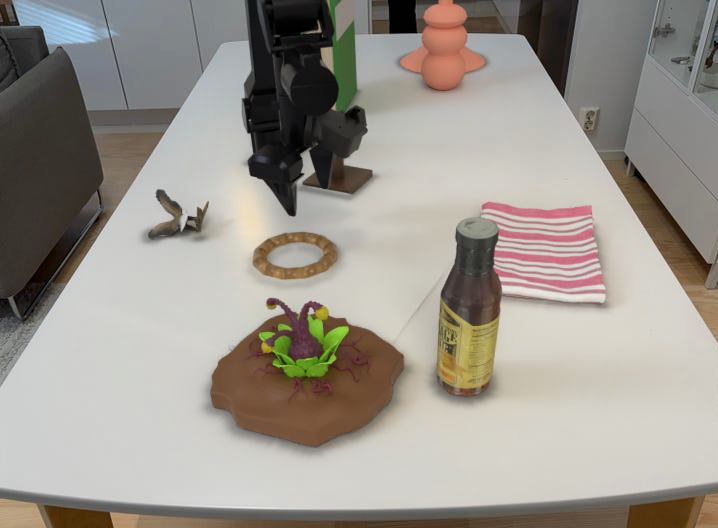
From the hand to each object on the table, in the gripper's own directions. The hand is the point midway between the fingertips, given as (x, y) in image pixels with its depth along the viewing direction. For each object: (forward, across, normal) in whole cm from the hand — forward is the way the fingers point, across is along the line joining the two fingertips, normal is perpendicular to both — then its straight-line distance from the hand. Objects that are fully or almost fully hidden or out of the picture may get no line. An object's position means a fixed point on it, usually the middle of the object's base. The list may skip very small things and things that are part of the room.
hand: (309, 201), depth 98 cm
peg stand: (+7, +21, +7) cm, 23 cm away
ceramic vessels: (+8, +86, +13) cm, 88 cm away
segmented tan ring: (+6, -5, 0) cm, 8 cm away
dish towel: (+7, +9, -31) cm, 33 cm away
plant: (+7, -27, -15) cm, 32 cm away
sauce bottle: (+7, -20, -31) cm, 38 cm away
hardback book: (+8, +56, +27) cm, 63 cm away
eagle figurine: (+7, -5, +21) cm, 23 cm away
